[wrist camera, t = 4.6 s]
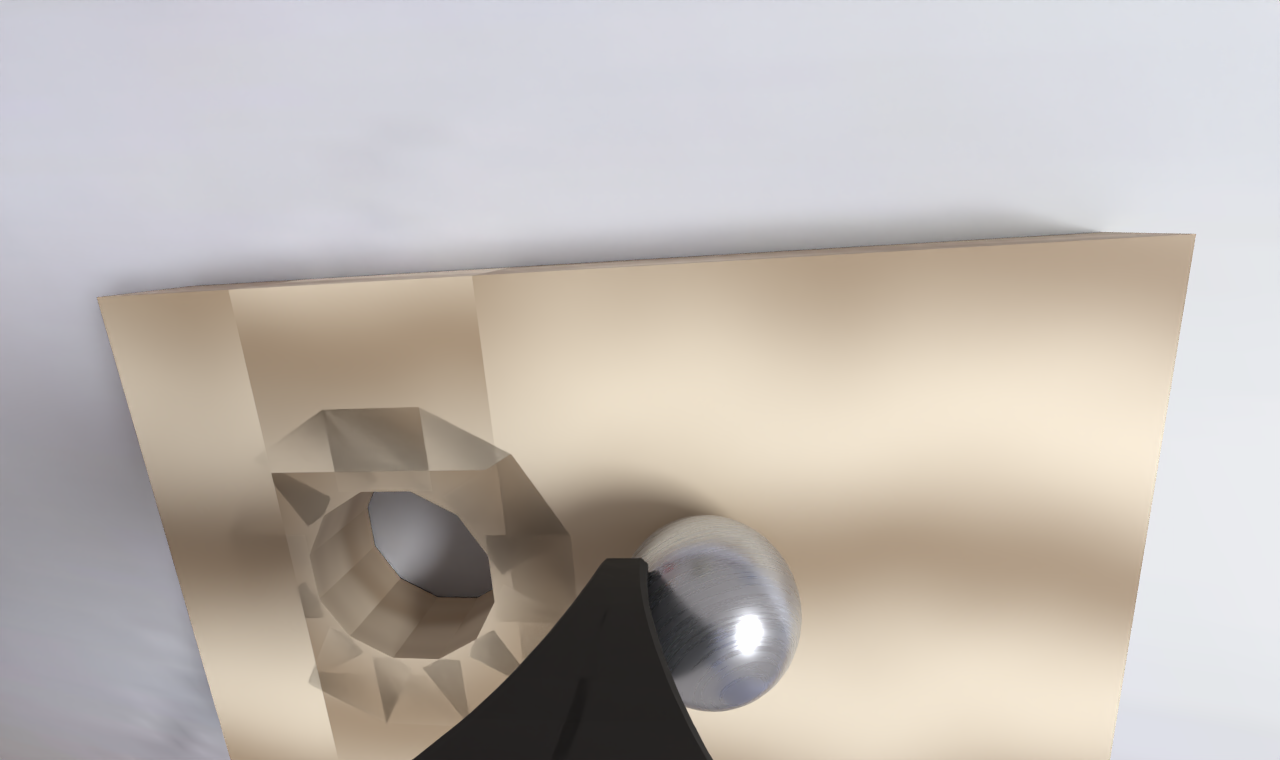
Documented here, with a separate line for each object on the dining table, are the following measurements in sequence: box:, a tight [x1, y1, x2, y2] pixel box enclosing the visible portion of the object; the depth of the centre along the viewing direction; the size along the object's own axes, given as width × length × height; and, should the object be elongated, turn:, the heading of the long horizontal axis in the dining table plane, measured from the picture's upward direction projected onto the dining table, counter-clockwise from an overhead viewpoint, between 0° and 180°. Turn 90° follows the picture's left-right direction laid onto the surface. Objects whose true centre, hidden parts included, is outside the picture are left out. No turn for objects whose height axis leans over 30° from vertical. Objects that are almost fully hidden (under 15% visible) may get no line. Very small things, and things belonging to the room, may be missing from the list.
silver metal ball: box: [631, 515, 802, 712], centre depth 11 cm, size 4×4×4 cm
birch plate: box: [97, 232, 1196, 760], centre depth 15 cm, size 14×22×2 cm, turn 94°
